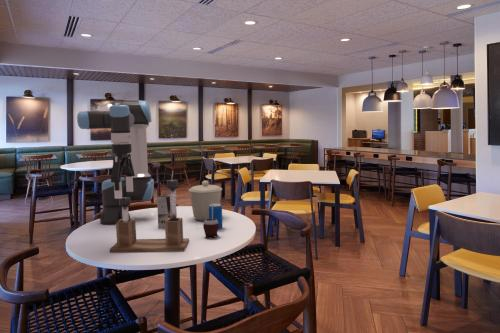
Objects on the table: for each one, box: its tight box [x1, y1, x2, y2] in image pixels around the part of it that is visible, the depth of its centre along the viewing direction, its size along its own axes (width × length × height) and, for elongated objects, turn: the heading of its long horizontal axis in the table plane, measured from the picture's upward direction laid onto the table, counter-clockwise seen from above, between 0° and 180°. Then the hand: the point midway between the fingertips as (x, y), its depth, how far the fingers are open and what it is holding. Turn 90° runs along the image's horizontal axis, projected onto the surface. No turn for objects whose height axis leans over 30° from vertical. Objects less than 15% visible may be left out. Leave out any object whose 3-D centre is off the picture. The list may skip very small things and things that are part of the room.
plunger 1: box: [119, 197, 131, 222], centre depth 145 cm, size 4×4×18 cm
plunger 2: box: [166, 179, 179, 221], centre depth 145 cm, size 4×4×18 cm
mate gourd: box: [202, 202, 219, 239], centre depth 159 cm, size 8×8×15 cm
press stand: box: [109, 217, 190, 254], centre depth 146 cm, size 12×30×12 cm, turn 90°
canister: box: [188, 180, 223, 222], centre depth 191 cm, size 18×18×21 cm
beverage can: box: [209, 203, 223, 231], centre depth 171 cm, size 6×6×12 cm
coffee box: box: [156, 193, 171, 230], centre depth 177 cm, size 9×6×16 cm
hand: (124, 194), depth 145 cm, fingers open, 13 cm apart
